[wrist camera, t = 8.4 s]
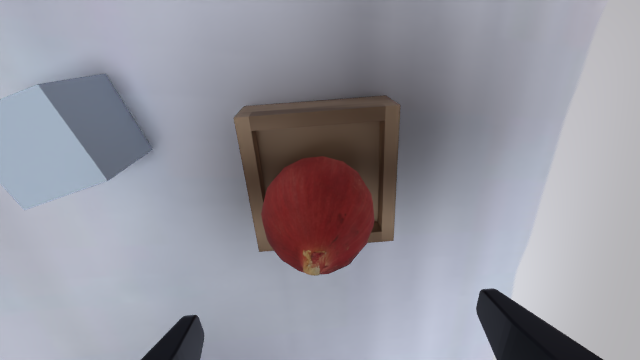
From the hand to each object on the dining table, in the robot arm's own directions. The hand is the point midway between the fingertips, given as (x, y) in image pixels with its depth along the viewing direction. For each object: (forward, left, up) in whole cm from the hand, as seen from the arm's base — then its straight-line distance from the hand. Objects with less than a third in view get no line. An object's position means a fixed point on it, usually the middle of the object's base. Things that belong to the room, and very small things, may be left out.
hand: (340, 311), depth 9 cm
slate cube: (+4, +14, -12) cm, 19 cm away
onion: (0, 0, -11) cm, 11 cm away
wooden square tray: (0, 0, -13) cm, 13 cm away
